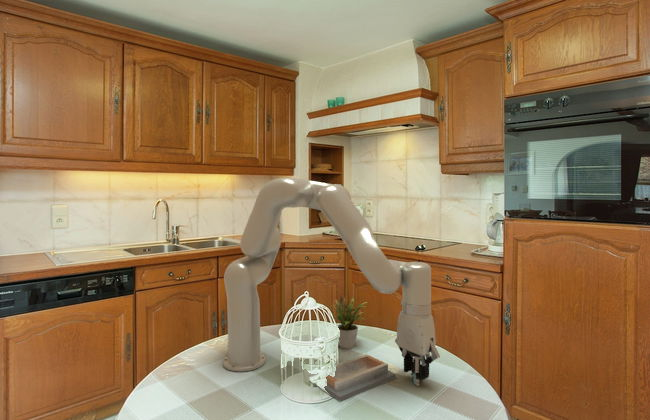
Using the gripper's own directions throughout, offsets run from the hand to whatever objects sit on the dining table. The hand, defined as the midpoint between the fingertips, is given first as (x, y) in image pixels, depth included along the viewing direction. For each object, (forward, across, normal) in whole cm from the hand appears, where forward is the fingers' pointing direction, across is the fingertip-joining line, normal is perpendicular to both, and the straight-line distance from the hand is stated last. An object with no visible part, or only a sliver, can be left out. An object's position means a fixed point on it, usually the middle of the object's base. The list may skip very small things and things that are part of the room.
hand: (416, 373), depth 107 cm
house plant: (+2, -29, +1) cm, 29 cm away
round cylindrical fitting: (+2, 0, 0) cm, 2 cm away
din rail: (+1, -11, -13) cm, 17 cm away
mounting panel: (+2, -11, -13) cm, 17 cm away
